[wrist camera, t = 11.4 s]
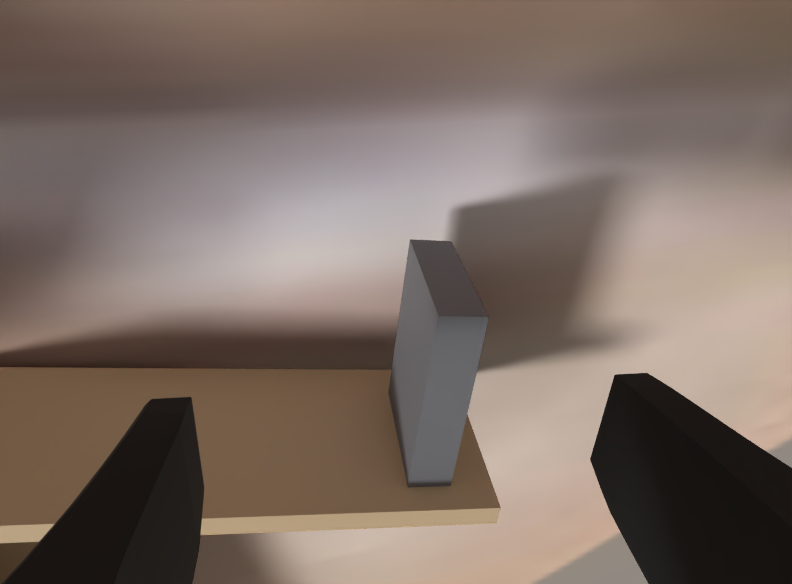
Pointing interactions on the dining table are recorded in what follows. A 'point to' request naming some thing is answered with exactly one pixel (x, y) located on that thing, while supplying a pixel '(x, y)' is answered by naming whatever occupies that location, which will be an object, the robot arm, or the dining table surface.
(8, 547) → the carton
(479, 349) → the front flap
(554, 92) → the dining table surface
